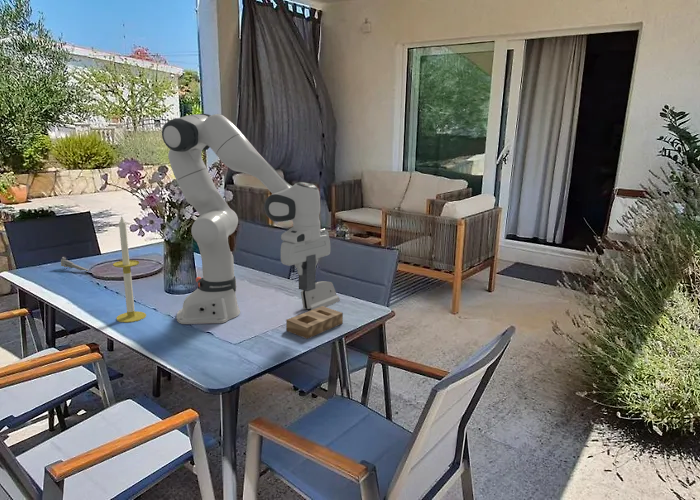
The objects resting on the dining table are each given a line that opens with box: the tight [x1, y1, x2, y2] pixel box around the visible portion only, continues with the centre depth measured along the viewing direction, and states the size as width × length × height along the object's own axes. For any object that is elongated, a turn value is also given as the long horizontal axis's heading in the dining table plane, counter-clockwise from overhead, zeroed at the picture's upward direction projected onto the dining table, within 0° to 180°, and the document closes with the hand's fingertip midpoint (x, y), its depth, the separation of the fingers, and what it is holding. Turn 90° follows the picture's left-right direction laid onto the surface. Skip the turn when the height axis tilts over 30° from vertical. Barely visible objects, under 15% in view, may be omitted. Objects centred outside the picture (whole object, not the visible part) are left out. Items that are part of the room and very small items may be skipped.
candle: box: [112, 215, 147, 324], centre depth 171 cm, size 10×10×38 cm
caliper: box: [60, 256, 89, 271], centre depth 228 cm, size 20×1×6 cm, turn 68°
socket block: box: [285, 306, 344, 340], centre depth 170 cm, size 18×10×4 cm, turn 140°
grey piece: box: [300, 280, 341, 311], centre depth 192 cm, size 17×5×10 cm, turn 141°
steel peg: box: [298, 254, 317, 291], centre depth 162 cm, size 4×4×12 cm
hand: (306, 272), depth 162 cm, fingers closed on steel peg, 4 cm apart
